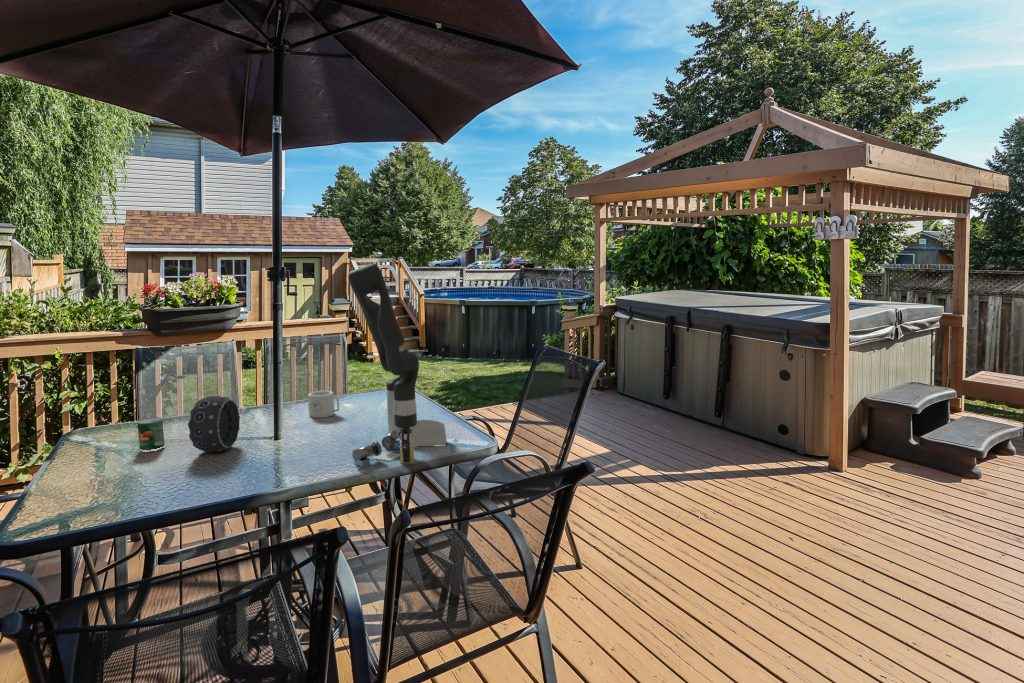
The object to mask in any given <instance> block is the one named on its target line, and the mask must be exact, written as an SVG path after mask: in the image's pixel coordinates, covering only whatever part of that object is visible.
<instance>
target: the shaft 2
mask: <svg viewBox="0 0 1024 683" xmlns="http://www.w3.org/2000/svg"><path fill="white" fill-rule="evenodd" d="M399 437H400V434H398V432H397V431H395V430H392V431H391V432H388V434H387V435H385V436H384V437H383V438H382V440H381V447H383V448H384V449H385V450H400V448H399V447H401V440H398V439H399Z"/></svg>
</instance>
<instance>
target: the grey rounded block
mask: <svg viewBox="0 0 1024 683" xmlns="http://www.w3.org/2000/svg"><path fill="white" fill-rule="evenodd" d="M410 429H412V439H411V445H410V446H414V448H416V447H415V446H435V445H446V446H447V444H446V443H447V442H448V440H447V439H448V438H447V433H446V426H445V424H444V423H443V422H440V421H437V420H430V419H417V424H416V425H415V426H413V427H410Z"/></svg>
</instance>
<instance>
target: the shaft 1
mask: <svg viewBox="0 0 1024 683" xmlns="http://www.w3.org/2000/svg"><path fill="white" fill-rule="evenodd" d="M382 452H383V451H382V445H381V443H380V442H379V441H374V442H371V444H370V445H367V446H363V447H360V448H356V449H353V450H352V452H351V453H352V454H351V455H352V458H353V462H354V463H353V464H354V465H355V466H357V465H358V466H357V467H360V466H361V467H360V468H362V467H363V468H366V467H369V466H371V458H369V457H374V456H379V455H380V454H381V453H382ZM368 465H369V466H368ZM365 466H366V467H365Z"/></svg>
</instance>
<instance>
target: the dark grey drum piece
mask: <svg viewBox="0 0 1024 683" xmlns="http://www.w3.org/2000/svg"><path fill="white" fill-rule="evenodd" d="M234 400H235V399H231V398H230V397H229V396H222V395H212V396H211V395H210V396H206V397H203V398H201V399H199V400H198V401H196V402H195V403H194V405H193V408H192V409H191V410H190V412H189V415H190V418H189V421H188V422H187V427H188V429H189V435H188V437H189V440H190V441H191V442H192V446H193V447H194V448H196V449H197V450H199V451H202V452H205V453H206V452H207V453H219V452H222V451H224V450H225V451H227V450H228V449H230V448H232V447H233V445H234V444H235V443H236V441H238V436H239V431H240V430H241V428H240V422H241V421H240V419H241V415H240V412H239V406H238V405H237V404H236V402H235V401H234Z"/></svg>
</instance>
